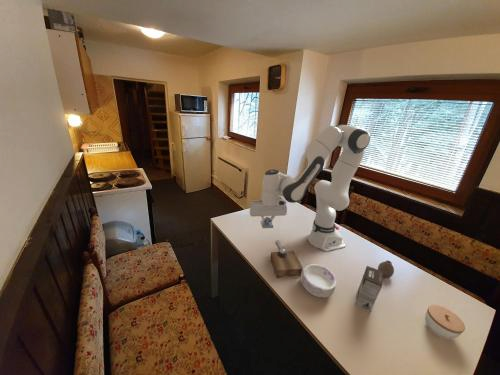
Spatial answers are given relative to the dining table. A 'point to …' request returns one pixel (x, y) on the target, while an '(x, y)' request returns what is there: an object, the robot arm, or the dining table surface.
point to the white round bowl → (318, 280)
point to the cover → (267, 223)
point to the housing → (286, 264)
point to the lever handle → (280, 248)
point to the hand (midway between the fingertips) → (267, 221)
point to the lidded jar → (443, 322)
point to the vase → (386, 269)
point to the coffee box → (369, 288)
